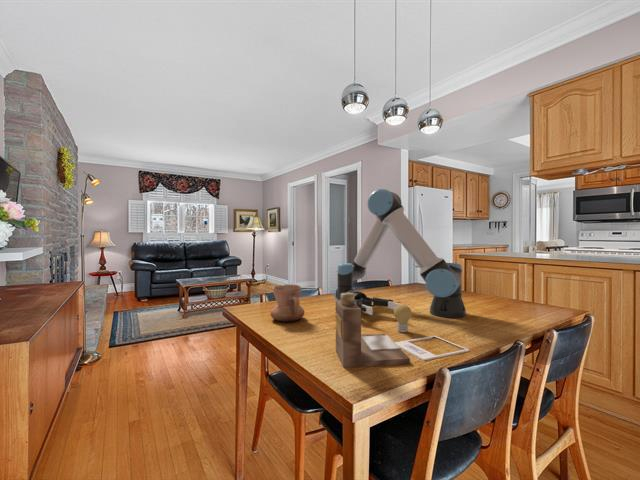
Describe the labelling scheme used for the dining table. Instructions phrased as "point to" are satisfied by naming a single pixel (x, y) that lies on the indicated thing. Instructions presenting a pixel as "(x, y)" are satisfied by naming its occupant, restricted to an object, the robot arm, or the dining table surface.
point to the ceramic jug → (287, 303)
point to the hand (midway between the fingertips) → (385, 309)
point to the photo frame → (423, 353)
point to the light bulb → (402, 317)
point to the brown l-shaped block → (362, 339)
